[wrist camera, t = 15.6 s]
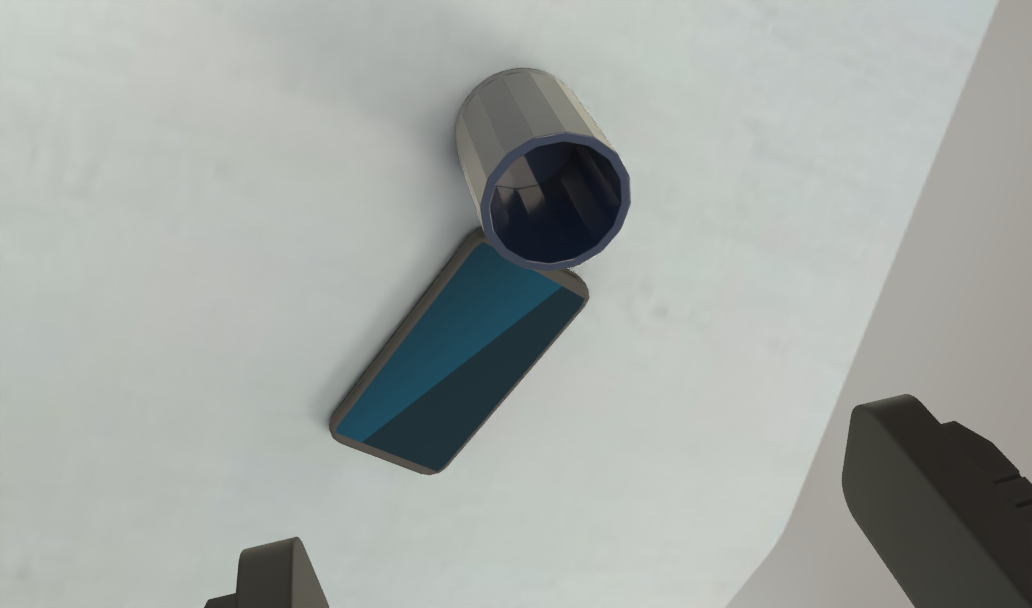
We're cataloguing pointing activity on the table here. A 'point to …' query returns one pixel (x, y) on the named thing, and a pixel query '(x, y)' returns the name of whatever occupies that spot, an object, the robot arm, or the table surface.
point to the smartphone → (457, 357)
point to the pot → (540, 171)
